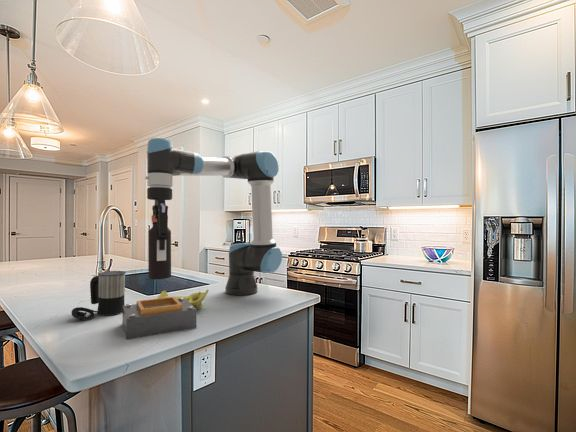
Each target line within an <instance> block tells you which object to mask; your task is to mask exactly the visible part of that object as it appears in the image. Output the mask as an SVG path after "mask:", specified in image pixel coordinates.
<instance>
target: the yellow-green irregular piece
mask: <svg viewBox="0 0 576 432" xmlns="http://www.w3.org/2000/svg"><path fill="white" fill-rule="evenodd" d="M208 293H209V289H206V290H205V292H201V291H199V292H195V293H192V294H190V295H185V296H184V295H183V296H182V295H181V296H174V297H175V298H176V299H178V298H185V299H186V300H187V301H188V302H189V303H190V304H192V305H193V306H194V307H195V308H196V309H197V310H199V309H201V308H202V306H203V304H202V302H203V301H204V300H205V298H206V297H207V295H208ZM167 297H170V296H169V295H168V292H167V290H162V292H160V294H159V295H158V296H157V298H156V299H159V298H167Z"/></svg>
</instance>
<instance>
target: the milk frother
mask: <svg viewBox="0 0 576 432" xmlns="http://www.w3.org/2000/svg"><path fill="white" fill-rule="evenodd" d="M126 273H127V271H124V270H108V271H101V272H98V273H97V275H95V276H93V277H92V278H91V280H90V282H89V289H90V290H89V291H90V304H91V305H98V306H97V310H93V309H90V308H87V307H83V306H82V307H80V306H79V307H74V308H73V309H72V310H71V316H72V317H73V318H75V319H78V320H79V321H83V320H90V319H93V318H95V313H96V314H97V316H115V315H116V316H117V315H119V314H122V310H123V306H126V304H125V294H126V293H125V291H126V287H125V286H126ZM87 313H88V315H87ZM89 314H90V315H89Z"/></svg>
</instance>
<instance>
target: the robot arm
mask: <svg viewBox="0 0 576 432" xmlns="http://www.w3.org/2000/svg"><path fill="white" fill-rule="evenodd" d="M146 149H147V151H146V154H147V163H146V165H147V167H146V169H147V175H146V176H145V178H144V179H145V180H147V187H148V188H147V189H146V194H147V196H146V198H147V199H148V200H149V201H150V200H151V201H154V205H152V207H151V209H152V215H155V218H156V219H157V231H158V237H156V238H155V240H157V261H165V260H166V238H167V237H168V228H169V227H168V222H169V215H168V213H169V212H168V211H169V210H168V209H169V206H168V205H166V201H171V200H173V189H172V187H173V178H174V176H177V177H178V176H181V177H182V176H183V177H185V176H186V177H187V176H189V177H190V176H192V177H193V176H197V177H198V176H201V177H202V176H206V177H207V176H209V177H210V176H215V177H216V176H217V177H218V176H222V177H223V178H227V179H228V178H229V179H239V180H240V179H241V180H247V183H248V184H249V185H250V186H251V188H250V189H251V211H252V231H253V232H252V233H253V239H252V241H251V242H243V243H242V242H241V243H233V244H230V246H229V250H228V251H229V252H228V278H227V281H226V285H225V287H224V289H225V290H224V291H225V294H227V295H231V296H247V295H252V294H256V293H258V284H257V280H256V278H255V273H256V272H257V273H262V274H273V273H274V272H277V270H278V269H279V268H280V266H281V264H282V261H283V252H282V251H281V249H280V248H279V247H277V241H276V240H274V237H273V217H272V216H273V215H272V214H273V213H272V211H273V210H272V190H271V188H272V187H271V185H272V184H273V183H274V182H275V181H274V179H275V178H276V176H277V175H278V173H279V169H280V168H279V167H280V165H279V161H278V158H277V157H276V156H275V155H274V153H273V152H271V151H270V150H259V151H252V152H247V153H241V154H237V155H230V156H229V155H228V156H227V155H226V156H223V157H207V156H206V157H204V156H202V155H201V154H200V153H196V152H194V151H189V150H184V149H178V148H174V144H173V141H171V140H169V139H167V138H161V137H160V138H159V137H157V138H156V137H155V138H151V139H149V140H148V142H147V147H146ZM274 177H275V178H274ZM158 215H159V216H158Z"/></svg>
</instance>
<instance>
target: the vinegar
mask: <svg viewBox="0 0 576 432" xmlns="http://www.w3.org/2000/svg"><path fill="white" fill-rule="evenodd" d="M158 216H159V215H158ZM151 224H152V227H150V229H149V230H148V233H147V234H148V235H147V237H148V242H147V243H148V250H147V251H148V252H147V253H148V254H147V255H148V257H147V258H148V260H147V261H148V263H147V265H148V266H147V268H148V270H147V271H148V272H147V273H148V279H150V280H166V279H169V278H171V277H172V230H171V229H170V228H169V227H168V237H167V238H166V260H165V261H157V240H155V238H156V237H158V231H157V219H156V218H155V215H153V214H151Z"/></svg>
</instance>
